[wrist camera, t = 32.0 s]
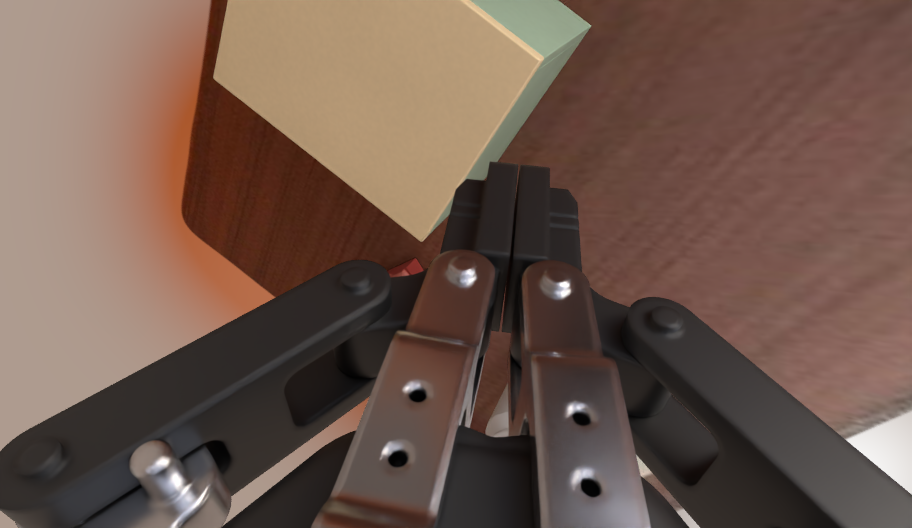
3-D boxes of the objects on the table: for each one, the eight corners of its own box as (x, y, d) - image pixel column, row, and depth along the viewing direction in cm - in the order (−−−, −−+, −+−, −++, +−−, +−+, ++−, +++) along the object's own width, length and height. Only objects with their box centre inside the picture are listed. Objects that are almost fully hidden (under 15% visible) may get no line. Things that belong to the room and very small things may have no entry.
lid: (221, 75, 35) (212, 78, 34) (268, -156, 26) (257, -158, 25) (427, 237, 34) (421, 242, 34) (545, 57, 25) (540, 60, 25)
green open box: (328, 53, 43) (230, 83, 35) (391, -128, 34) (281, -146, 26) (486, 176, 42) (427, 236, 34) (591, 25, 34) (545, 57, 25)
